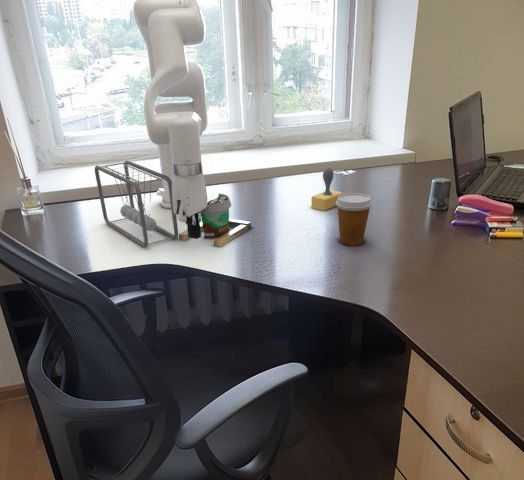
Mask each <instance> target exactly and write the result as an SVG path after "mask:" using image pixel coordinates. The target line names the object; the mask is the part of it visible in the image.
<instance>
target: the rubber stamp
mask: <svg viewBox="0 0 524 480" xmlns="http://www.w3.org/2000/svg"><path fill="white" fill-rule="evenodd" d="M334 175H335V174H334V171H333V169H332V168H330V167H327V168H325V169H323V172H322V179H323V183H324V185H325V186H324V187H325V191H322V192H320V193H317V194H315V195H311V209H314V210H319V211H323V212H324V211H327V210H330V209H332V208H336V207H337V205H336V201H337V199H338V197H339V196H340V195H343V194H344V192H342V191H337V190H333V189H332V190H331V185H332V183H333V180H334Z"/></svg>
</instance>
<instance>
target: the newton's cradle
mask: <svg viewBox="0 0 524 480" xmlns="http://www.w3.org/2000/svg"><path fill="white" fill-rule="evenodd" d="M118 165H123V167H121V169H124V170H122V172H124V173H122V172H121V170H118V171H117V169H119V167H115V169H114V168H110V167H114V166H118ZM131 170H134V171H136V173H138V174H135V175H134V171H132V172H130V171H131ZM100 172H101V173H104V174H106V175H109V176H111V177H112V178H114V180H115V183H116V186H117V189H118V192H119V194H120V198H121V200H122V203H123V205H122V206H121V207H120V210H119V212H120V215H121V216H122V217H123V218H119V219H116V220H111V221H110V220H109V217H108V213H107V207H106V202H105V197H104V193H103V192H104V191H103V187H102V181H101V177H100ZM130 174H133V177H132V175H130ZM141 175H143V180H144V181H140V180H141V177H140V176H141ZM146 175H148V178H154V179H150V180H147V181H146V178H147V176H146ZM136 176H138V177H137V179H136V178H134V177H136ZM94 177H95V181H96V185H97V192H98V196H99V201H100V205H101V206H100V207H101V211H102V217H103V220H104V222H105V223H106V225H108V226H109V227H111V228H113V229H114V230H115V231H118V232H119V233H121V234H122V235H124V236H125V237H126V238H129V239H130V240H131V241H133V242H135V243H136V244H138V245H139V246H140V247H143V248H147V247H148V246H149V245H152V244H157V243H160V242H165V241H169V240H177V239H179V228H178V220H177V219H178V218H177V215H175V214H174V212H173V203H172V181H171V179H170V178H169V177H168V176H166V175H163V174H161V172H158V171H156V170H153V169H151V168H148V167H145V166H143V165H140V164H139V163H135V162H133V161H130V160H125V161H124V162H117V163H113V164H107V165H102V166H101V165H95V166H94ZM117 180H119V182H120V184H121V187H122V190H123V193H124V196H125V198H126V202H127V203H125V202H124V199H123V196H122V193H121V191H120V187H119V185H118V182H117ZM162 180H166V181H167V183H168V186H169V194H170V202H171V208H170V211H171V217H172V226H173V227H172V228H173V233H174V234H173V233H171V232H169V231H168V230H166V229H164V228H162V227H161V226H159V225H157V222H156V220H155V219H154V218H153V217H151V215H149V216H148V215H147V211H146V209H145V204H144V201H143V198H145V193H146V192H145V190H146V184H148V183H150V187H149V188H150V189H149V201H151V197H152V195H151V194H152V183H154V182H159V181H162ZM122 182H123V183H125V186H126V190H127V193H126V192H125V188H124V186H123V183H122ZM140 185H143V187H144V188H143V197H142V192H141V191H142V190H141V188H140ZM134 190H135V191H134ZM135 193H136V194H135ZM127 195H128V196H127ZM134 197H135V200H136V204H137V208H138V209H136V207H135V202H134ZM128 199H129V200H128ZM124 220H129V221H130V222H133V223H134V224H135V225H138V226H139V227H141V230H142V237H143V240H141V239H139V238H138V237H136V236H135V235H133V234H131V233H130V232H128V231H126V230H124V229H123V228H121V227H120V226H118V225H117V224H115V223H116V222H119V221H120V222H121V221H124ZM154 230H155V231H156V230H157V231H158V232H159V233H162V234H163V235H165V236H166V237H167V238H163V239H159V240H156V241H151V242H149V235H148V232H152V231H154Z"/></svg>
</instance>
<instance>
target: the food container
mask: <svg viewBox="0 0 524 480" xmlns="http://www.w3.org/2000/svg"><path fill="white" fill-rule="evenodd" d="M231 207H232V202H231V199H230V197H229V196H228V195H227V194H224V193H218V196H217V197H216V198H214V199H211V200H209V201H207V207H206V208H205V209H204V212H203V213H202V215H201V222H202V225H203V238H204V239H217V238H219V237H221V236H222V235H224V234H226V233H228V232H229V231H230V227H229V219H230V208H231Z"/></svg>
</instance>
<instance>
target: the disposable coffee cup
mask: <svg viewBox="0 0 524 480" xmlns="http://www.w3.org/2000/svg"><path fill="white" fill-rule="evenodd" d="M336 205H337V206H336V207H337V218H338V219H337V220H338V232H339V242H340V243H341V244H343V245H347V246H356V245H361V244H362V243H363V242H364V238H365V233H366V229H367V223H368V220H369V219H368V218H369V214H370V209H371V207H372V205H373V201H372V198H371V196H370V195H368V194H364V193H360V192H359V193H358V192H357V193H356V192H353V193H352V192H350V193H349V192H348V193H343V195H340V196H339V197H338V199H337V201H336Z"/></svg>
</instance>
